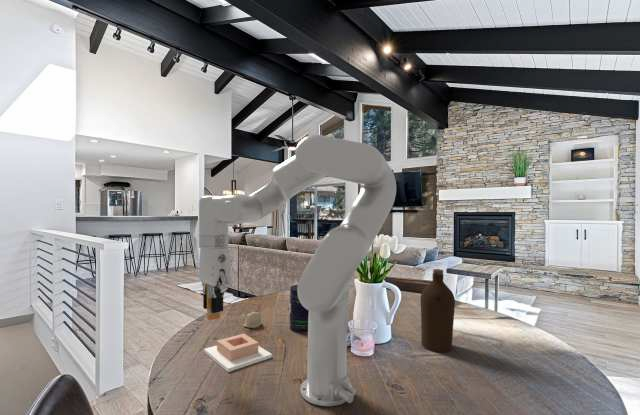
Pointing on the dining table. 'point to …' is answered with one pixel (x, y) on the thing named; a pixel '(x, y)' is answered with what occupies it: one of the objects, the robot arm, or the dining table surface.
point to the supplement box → (209, 296)
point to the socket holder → (237, 352)
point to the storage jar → (297, 313)
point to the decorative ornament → (252, 320)
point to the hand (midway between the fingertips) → (213, 309)
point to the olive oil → (437, 314)
